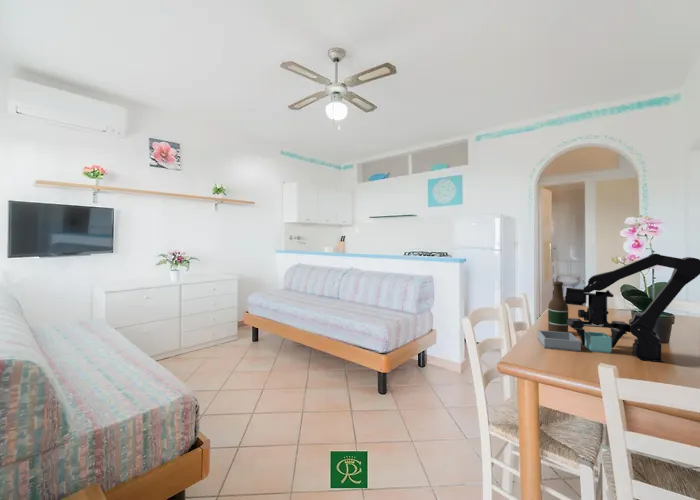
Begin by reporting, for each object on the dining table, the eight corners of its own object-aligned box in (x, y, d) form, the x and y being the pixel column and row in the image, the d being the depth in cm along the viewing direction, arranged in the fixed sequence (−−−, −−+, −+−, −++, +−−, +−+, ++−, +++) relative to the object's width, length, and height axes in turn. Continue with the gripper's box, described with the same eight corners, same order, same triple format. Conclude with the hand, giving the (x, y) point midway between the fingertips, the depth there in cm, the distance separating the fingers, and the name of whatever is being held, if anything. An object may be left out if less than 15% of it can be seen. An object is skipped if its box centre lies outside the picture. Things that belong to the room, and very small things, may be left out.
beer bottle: (544, 331, 142) (544, 281, 142) (556, 329, 145) (556, 280, 144) (560, 336, 135) (560, 283, 134) (572, 334, 137) (572, 282, 137)
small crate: (604, 347, 119) (604, 332, 119) (611, 353, 113) (611, 337, 113) (584, 346, 121) (584, 331, 121) (590, 351, 115) (590, 336, 115)
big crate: (570, 342, 126) (570, 332, 126) (580, 351, 115) (580, 341, 115) (537, 339, 131) (537, 330, 131) (544, 348, 120) (544, 338, 119)
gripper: (617, 304, 121) (617, 342, 121) (563, 301, 128) (563, 338, 128) (632, 310, 111) (631, 351, 111) (571, 307, 117) (571, 346, 118)
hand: (597, 346), depth 117 cm, fingers open, 9 cm apart
